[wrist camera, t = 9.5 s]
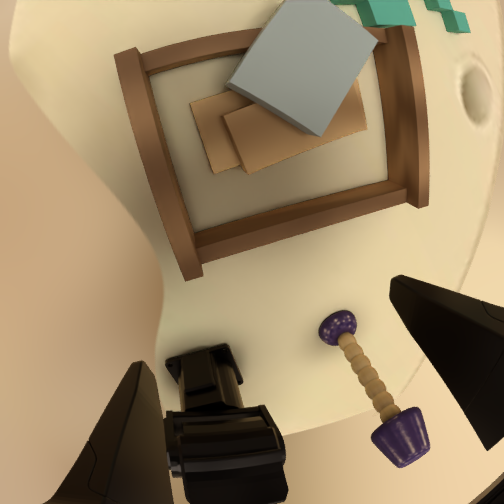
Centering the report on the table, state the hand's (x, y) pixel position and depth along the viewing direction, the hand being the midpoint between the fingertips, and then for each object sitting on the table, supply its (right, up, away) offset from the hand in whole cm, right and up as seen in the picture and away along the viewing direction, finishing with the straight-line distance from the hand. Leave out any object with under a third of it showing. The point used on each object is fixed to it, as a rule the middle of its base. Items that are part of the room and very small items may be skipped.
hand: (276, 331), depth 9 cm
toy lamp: (+8, -5, +20) cm, 22 cm away
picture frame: (+2, +11, +10) cm, 15 cm away
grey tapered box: (+4, +17, +3) cm, 18 cm away
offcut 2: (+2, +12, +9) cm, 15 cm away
